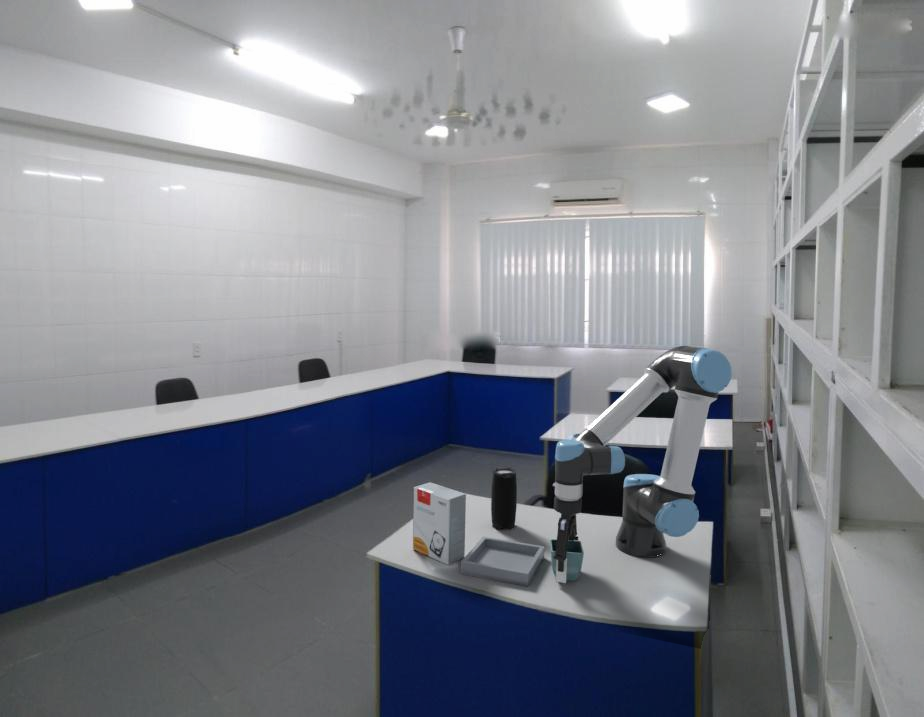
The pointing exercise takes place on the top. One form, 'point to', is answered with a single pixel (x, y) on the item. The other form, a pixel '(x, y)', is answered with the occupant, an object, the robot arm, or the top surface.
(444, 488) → the hard drive box
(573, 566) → the flower pot
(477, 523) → the top surface
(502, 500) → the portable speaker
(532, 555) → the tray
